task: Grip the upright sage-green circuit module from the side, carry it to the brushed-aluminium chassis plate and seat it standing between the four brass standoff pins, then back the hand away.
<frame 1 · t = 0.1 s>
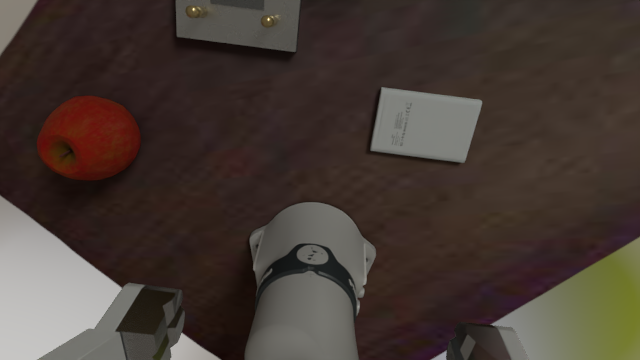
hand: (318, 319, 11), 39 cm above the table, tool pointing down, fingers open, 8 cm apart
apple: (111, 128, 51), on the table
external hard drive: (421, 123, 49), on the table
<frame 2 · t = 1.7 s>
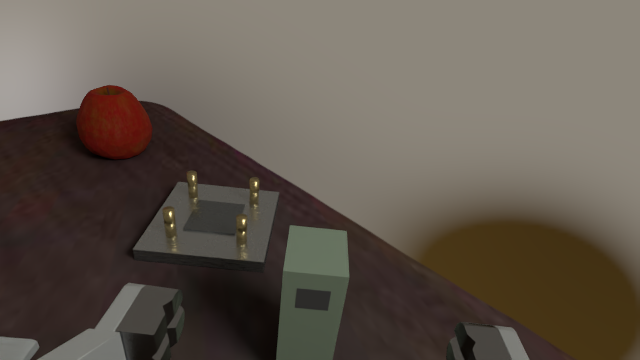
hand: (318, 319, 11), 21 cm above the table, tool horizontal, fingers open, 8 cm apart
apple: (120, 150, 61), on the table
chassis: (216, 226, 47), on the table
module: (303, 350, 34), on the table
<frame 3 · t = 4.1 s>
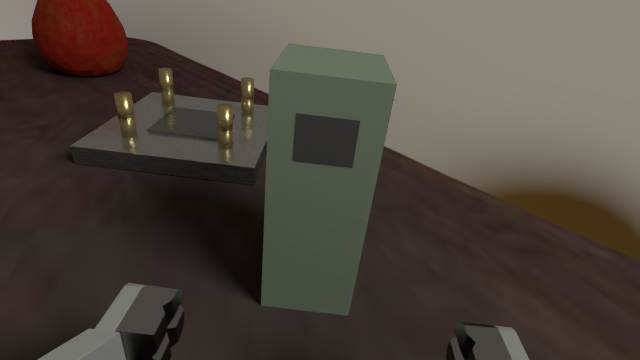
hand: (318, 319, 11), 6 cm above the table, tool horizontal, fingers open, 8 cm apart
apple: (89, 71, 50), on the table
chassis: (195, 138, 35), on the table
module: (308, 275, 21), on the table
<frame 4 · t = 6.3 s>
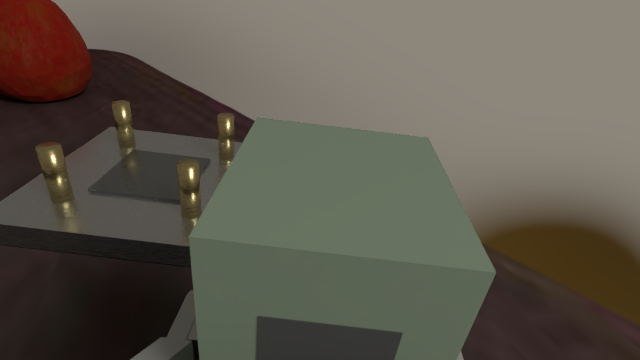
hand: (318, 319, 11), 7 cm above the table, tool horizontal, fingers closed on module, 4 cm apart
apple: (45, 94, 42), on the table
chassis: (157, 192, 27), on the table
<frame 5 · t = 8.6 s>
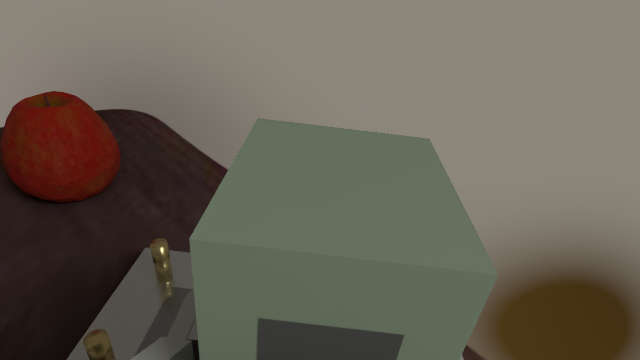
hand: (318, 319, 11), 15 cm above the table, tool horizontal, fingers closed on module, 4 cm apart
apple: (75, 186, 42), on the table
chassis: (198, 339, 27), on the table
when the fingers open (9 cm above the table, at t = 11.2 s): module drops 1 cm, resting on chassis.
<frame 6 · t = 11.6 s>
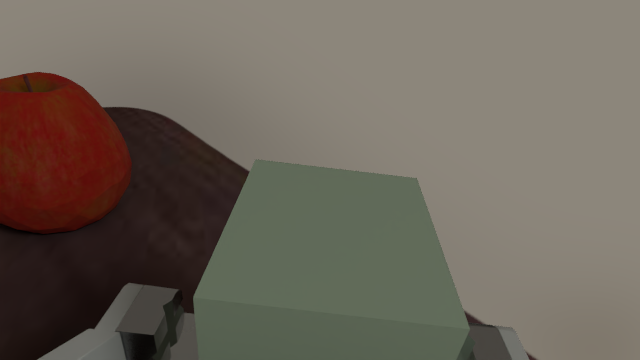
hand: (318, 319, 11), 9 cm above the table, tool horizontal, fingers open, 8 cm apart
apple: (66, 208, 30), on the table
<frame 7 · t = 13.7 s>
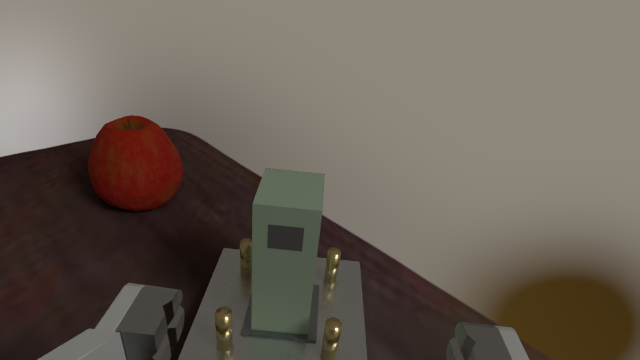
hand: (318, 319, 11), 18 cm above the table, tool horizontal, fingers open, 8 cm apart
apple: (142, 197, 48), on the table
chassis: (282, 320, 33), on the table
module: (283, 307, 32), point 2 cm above the table, touching chassis
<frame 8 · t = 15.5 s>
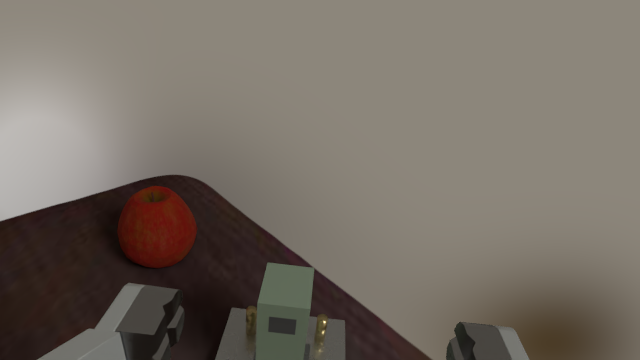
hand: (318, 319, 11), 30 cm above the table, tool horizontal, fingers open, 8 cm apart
apple: (161, 252, 56), on the table
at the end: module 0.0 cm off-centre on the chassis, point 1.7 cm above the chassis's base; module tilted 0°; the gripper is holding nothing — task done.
